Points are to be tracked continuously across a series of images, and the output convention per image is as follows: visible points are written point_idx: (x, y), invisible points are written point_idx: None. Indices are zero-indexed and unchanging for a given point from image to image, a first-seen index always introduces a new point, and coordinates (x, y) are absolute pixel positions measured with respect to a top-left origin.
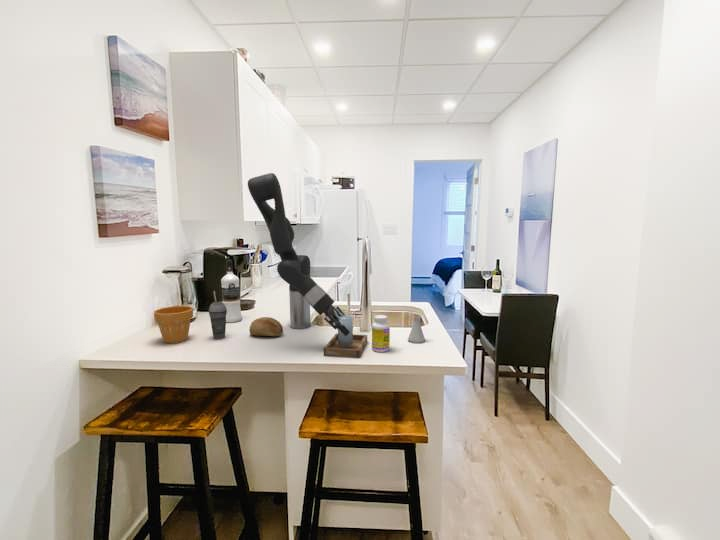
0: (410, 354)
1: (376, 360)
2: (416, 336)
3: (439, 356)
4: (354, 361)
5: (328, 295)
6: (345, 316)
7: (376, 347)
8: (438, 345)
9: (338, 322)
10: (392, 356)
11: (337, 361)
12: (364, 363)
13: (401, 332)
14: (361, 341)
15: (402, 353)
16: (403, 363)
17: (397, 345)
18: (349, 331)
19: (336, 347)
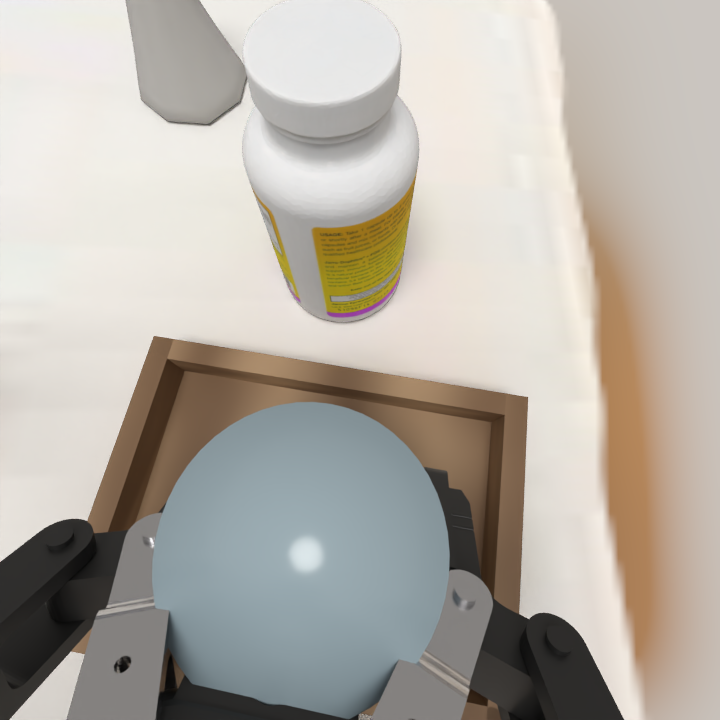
0: (419, 135)
1: (531, 303)
2: (220, 55)
3: (440, 31)
4: (569, 438)
5: None
6: (245, 545)
7: (393, 284)
8: None
9: (546, 671)
10: (457, 218)
11: (590, 565)
12: (592, 373)
13: (21, 144)
14: (313, 380)
15: None
16: (554, 176)
17: None
18: (429, 469)
19: None
